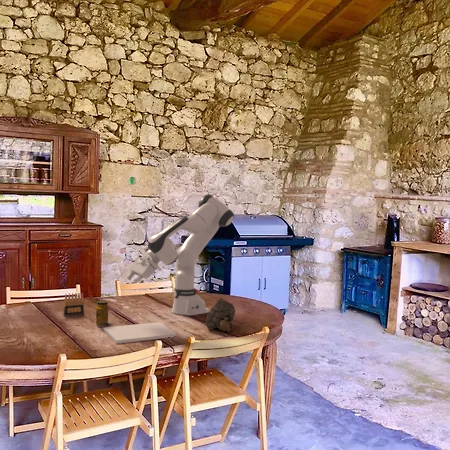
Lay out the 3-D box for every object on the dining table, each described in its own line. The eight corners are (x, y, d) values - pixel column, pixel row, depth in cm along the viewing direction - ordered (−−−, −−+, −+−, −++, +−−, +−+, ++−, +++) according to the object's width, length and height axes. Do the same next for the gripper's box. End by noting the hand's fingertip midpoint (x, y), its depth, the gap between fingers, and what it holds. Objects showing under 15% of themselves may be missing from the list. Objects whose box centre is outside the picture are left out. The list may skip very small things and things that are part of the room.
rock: (213, 293, 260) (233, 293, 249) (227, 310, 266) (247, 311, 256) (196, 320, 249) (217, 321, 239) (211, 337, 256) (232, 339, 245)
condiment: (92, 324, 250) (93, 301, 249) (106, 321, 257) (106, 299, 256) (100, 327, 246) (101, 304, 245) (114, 324, 252) (115, 301, 251)
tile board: (159, 324, 255) (160, 322, 255) (176, 336, 236) (176, 333, 235) (103, 330, 240) (103, 327, 240) (116, 343, 221) (116, 340, 221)
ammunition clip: (64, 315, 265) (64, 293, 264) (63, 314, 266) (63, 293, 265) (83, 313, 270) (84, 292, 269) (83, 312, 272) (83, 291, 271)
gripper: (138, 255, 267) (120, 273, 263) (152, 260, 250) (134, 280, 245) (145, 262, 270) (128, 281, 265) (160, 268, 252) (142, 288, 248)
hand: (131, 280), depth 255 cm, fingers open, 8 cm apart
